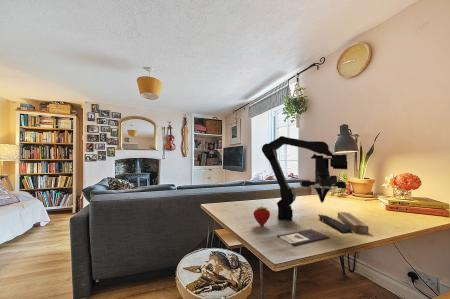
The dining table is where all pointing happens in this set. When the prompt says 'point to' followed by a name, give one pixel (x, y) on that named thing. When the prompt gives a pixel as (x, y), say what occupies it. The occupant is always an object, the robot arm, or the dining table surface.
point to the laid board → (353, 222)
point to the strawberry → (261, 215)
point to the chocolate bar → (302, 237)
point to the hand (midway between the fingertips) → (321, 202)
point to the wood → (336, 224)
